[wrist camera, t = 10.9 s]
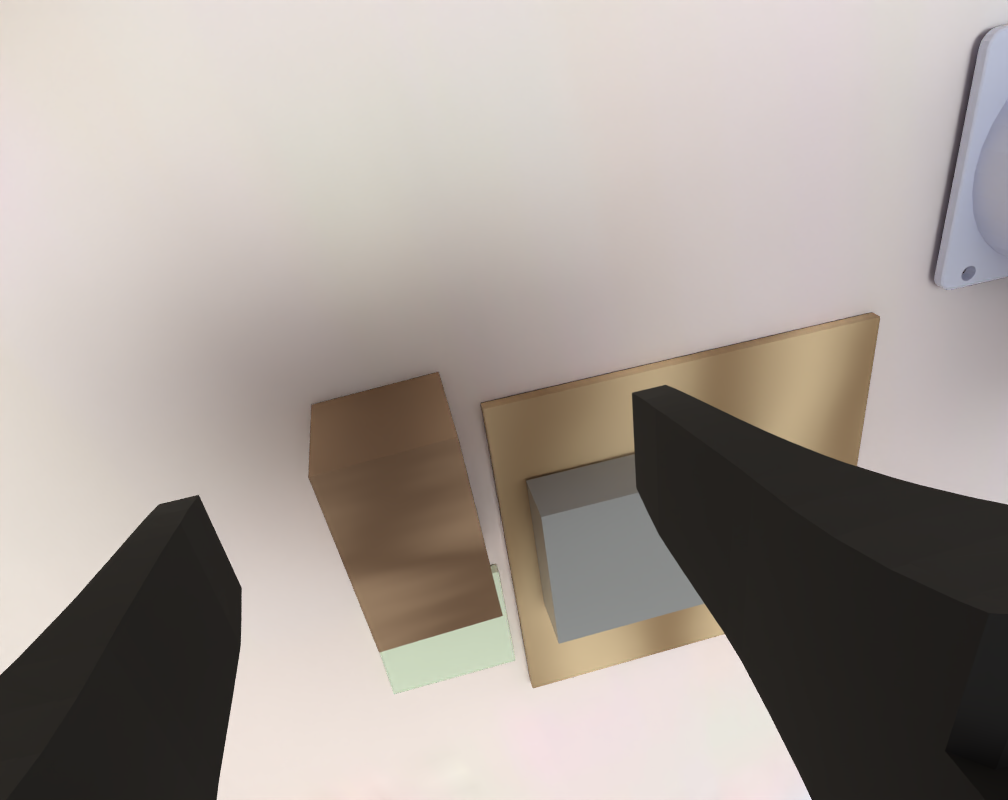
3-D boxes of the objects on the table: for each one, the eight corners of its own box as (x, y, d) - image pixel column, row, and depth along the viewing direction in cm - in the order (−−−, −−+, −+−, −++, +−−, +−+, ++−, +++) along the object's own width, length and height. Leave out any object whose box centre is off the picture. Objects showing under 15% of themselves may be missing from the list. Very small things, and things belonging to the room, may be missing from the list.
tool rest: (496, 564, 26) (498, 571, 26) (513, 653, 29) (515, 660, 28) (363, 598, 26) (364, 607, 25) (393, 685, 28) (393, 694, 28)
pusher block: (479, 534, 26) (437, 369, 22) (502, 615, 22) (457, 437, 18) (372, 564, 25) (311, 402, 21) (379, 652, 22) (308, 477, 18)
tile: (773, 458, 23) (763, 587, 26) (741, 425, 25) (734, 549, 28) (541, 517, 22) (558, 643, 25) (524, 478, 24) (543, 600, 27)
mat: (872, 312, 24) (880, 316, 24) (829, 596, 31) (835, 602, 31) (480, 403, 23) (483, 409, 22) (530, 680, 30) (532, 688, 29)
